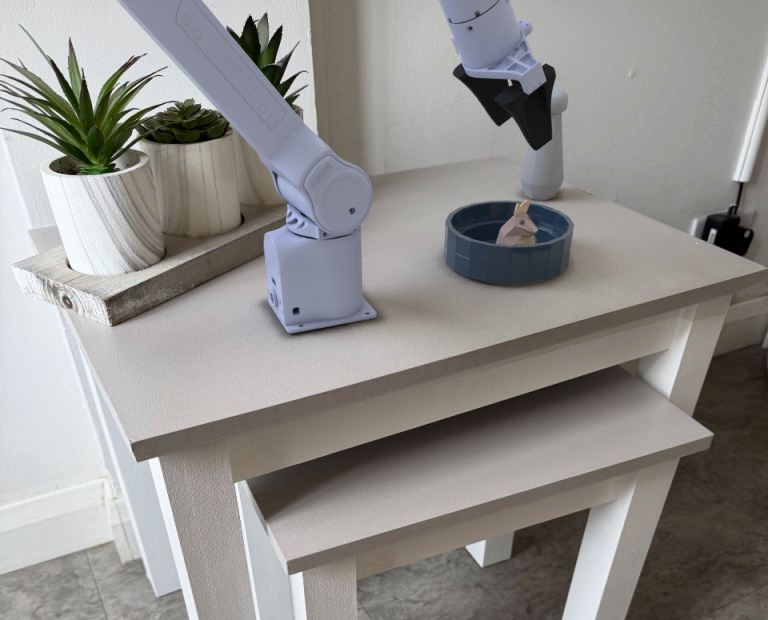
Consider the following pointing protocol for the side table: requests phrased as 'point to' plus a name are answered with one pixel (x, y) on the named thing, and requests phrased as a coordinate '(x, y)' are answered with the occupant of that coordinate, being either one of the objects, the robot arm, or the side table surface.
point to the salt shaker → (546, 157)
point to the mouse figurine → (518, 228)
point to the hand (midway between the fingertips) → (523, 131)
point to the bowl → (506, 262)
